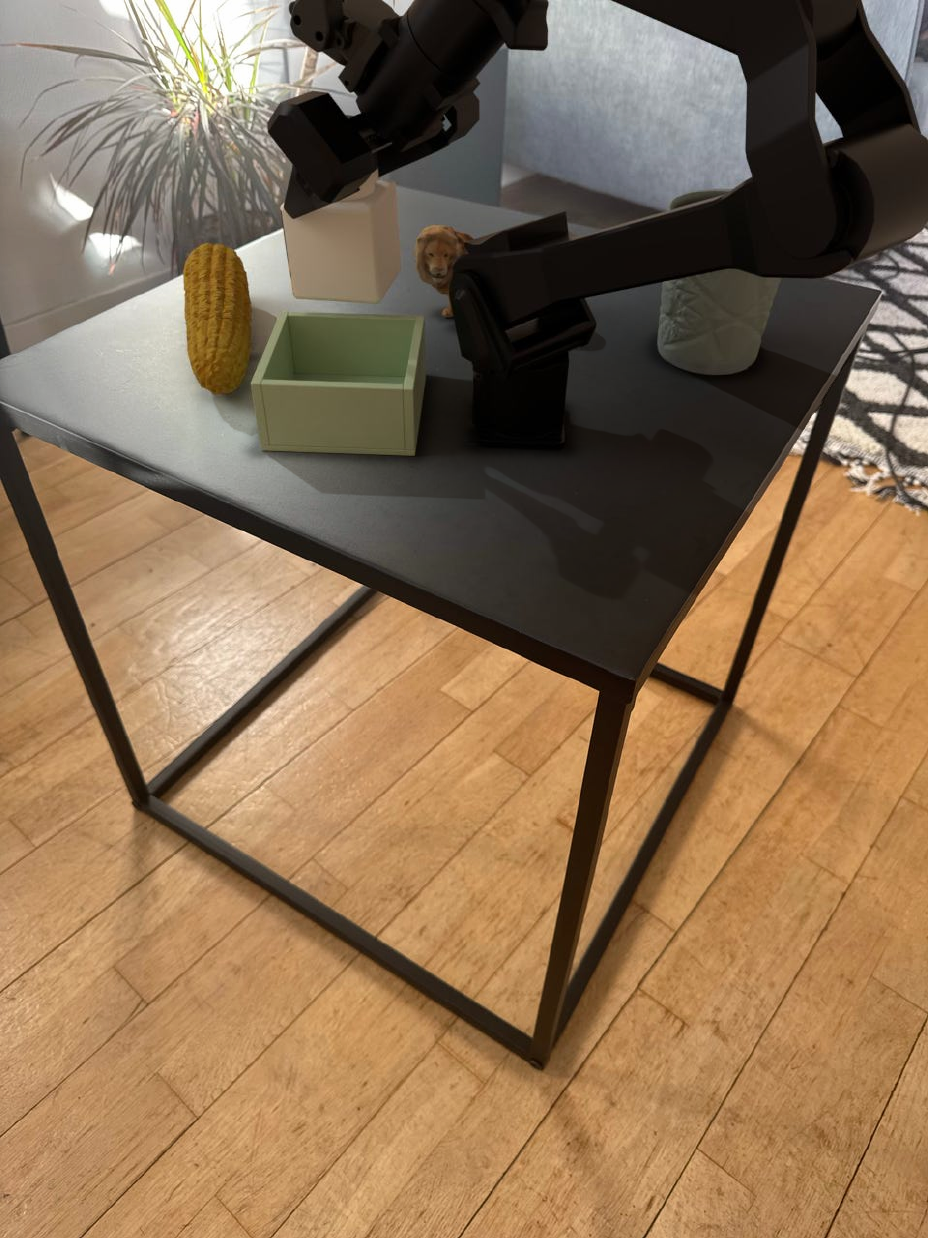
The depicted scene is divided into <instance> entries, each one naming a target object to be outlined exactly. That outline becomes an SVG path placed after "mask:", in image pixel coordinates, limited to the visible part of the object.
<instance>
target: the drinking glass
mask: <svg viewBox="0 0 928 1238" xmlns="http://www.w3.org/2000/svg"><path fill="white" fill-rule="evenodd" d="M732 189H733V188H711V189H709V188H708V189H699V190H692V191H688V192H684V193H683V194H681V195H679V196H676V197H674V198H673V199H672V200H671V201H670V202H669V204H668V206H667V207H666V211H669V210H672V209H676V208H679V207H683V206H686V205H690V204H693V203H697V202H700V201H704V200H707V199H711V198H714V197H718V196H721V195H725V194H726V193H728V192H729V191H731V190H732ZM781 280H782V278H766V277H760V276H757V275H754V274H751V273H748V272H745V271H741V270H738V269H724V270H719V271H714V272H709V273H705V274H700V275H695V276H690V277H685V278H680V279H675V280H670V281H666V282H662V285H661V295H660V301H661V306H660V308H659V320H658V321H659V323H658V325H659V326H658V330H657V351H658V354H659V355H660V356H661V357H662V358H663V359H664V360H665V361H666V362H667V363H669V364H671V365H672V366H674V367H676V368H678V369H681V370H684V371H686V372H689V373H695V374H700V375H706V376H707V375H708V376H723V375H733V374H737V373H740V372H743V371H746V370H748V369H749V367H752V365H753V364H754V362H755V360H756V359H757V356H758V353H759V350H760V347H761V344H762V336H763V334H764V333H765V329H766V327H767V324H768V321H769V318H770V315H771V309H772V307H773V305H774V299H775V297H776V295H777V293H778V288H779V285H780V283H781Z"/></svg>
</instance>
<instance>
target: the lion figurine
mask: <svg viewBox="0 0 928 1238" xmlns="http://www.w3.org/2000/svg"><path fill="white" fill-rule="evenodd" d="M473 239H474V238H473V237H472V236H471V235H470V234H469V233H466V232H461V231H457V230H455V229H454V227H452V226H447V225H442V224H436V225H435V224H431V226H426V227H424V229H423V230H421V232H420V233H419V235H418V236H417V238H416V242H415V245H414V248H413V254H414V257H415V269H416V271H417V274H418V276H419V279H420V280H421V281H422V282H423V283H425V284H428V285H431V286H432V288H433V289H435V291H436V292H437V293H438V294H439V295H446V298H447V300H448V307H446V308H444V309H443V311H442V316H443V317H444V318H445V319H446V318H453V313H452V308H451V304H450V298H449V286H450V282H451V280H452V275H453V269H452V265H453V262H454V261H455V260H456V258H458V257H459V256H461V255H462V254H465V253H468V252H467V251H466V249H465V248H464V245H463V244H464V242H467V241H470V240H473Z"/></svg>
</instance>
